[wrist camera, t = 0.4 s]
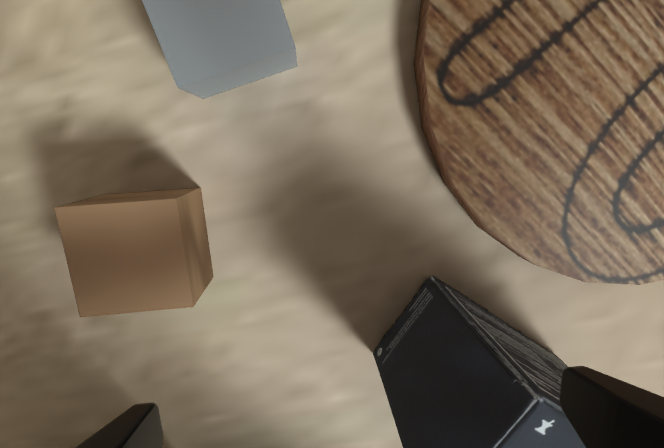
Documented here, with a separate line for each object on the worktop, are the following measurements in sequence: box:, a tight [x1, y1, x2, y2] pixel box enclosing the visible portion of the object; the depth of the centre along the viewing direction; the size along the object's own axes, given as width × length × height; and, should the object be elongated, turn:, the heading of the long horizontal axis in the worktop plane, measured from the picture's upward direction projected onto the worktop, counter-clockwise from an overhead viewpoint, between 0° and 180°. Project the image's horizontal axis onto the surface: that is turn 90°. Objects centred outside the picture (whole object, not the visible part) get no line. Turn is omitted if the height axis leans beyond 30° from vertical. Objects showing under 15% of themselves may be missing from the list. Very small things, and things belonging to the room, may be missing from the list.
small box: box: [373, 276, 586, 448], centre depth 18 cm, size 11×6×10 cm, turn 56°
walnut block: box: [55, 188, 213, 317], centre depth 18 cm, size 5×5×4 cm
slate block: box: [142, 0, 297, 99], centre depth 16 cm, size 5×5×4 cm
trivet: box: [414, 0, 664, 285], centre depth 19 cm, size 25×25×2 cm
